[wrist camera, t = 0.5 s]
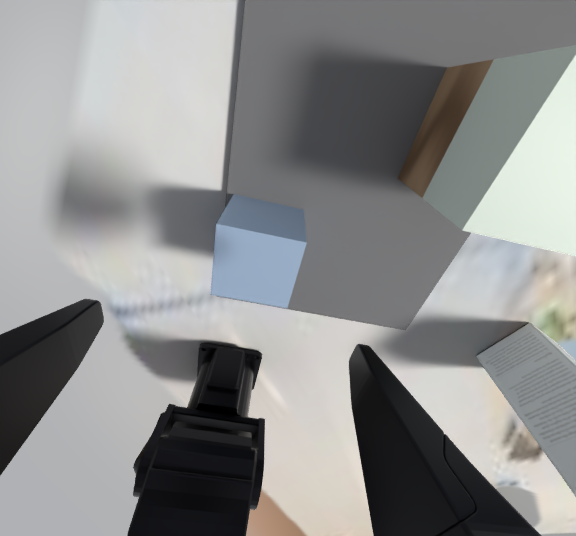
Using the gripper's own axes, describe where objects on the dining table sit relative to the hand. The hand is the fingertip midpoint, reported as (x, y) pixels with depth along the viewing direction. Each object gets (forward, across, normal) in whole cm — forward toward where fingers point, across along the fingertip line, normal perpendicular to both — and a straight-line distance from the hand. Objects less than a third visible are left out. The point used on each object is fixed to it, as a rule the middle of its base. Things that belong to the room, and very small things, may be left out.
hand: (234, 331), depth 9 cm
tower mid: (+7, -11, -8) cm, 15 cm away
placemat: (+12, -6, -4) cm, 14 cm away
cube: (+12, 0, +1) cm, 12 cm away
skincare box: (+12, -27, +8) cm, 31 cm away
